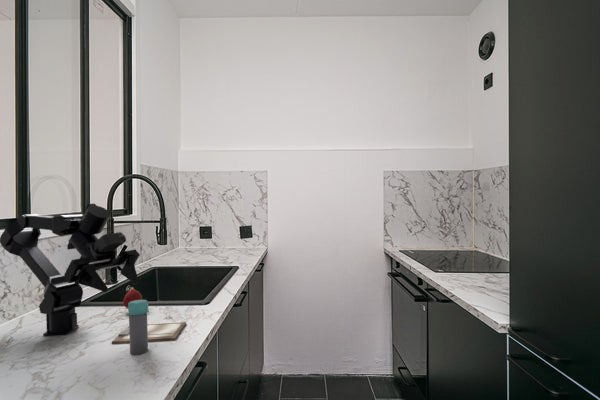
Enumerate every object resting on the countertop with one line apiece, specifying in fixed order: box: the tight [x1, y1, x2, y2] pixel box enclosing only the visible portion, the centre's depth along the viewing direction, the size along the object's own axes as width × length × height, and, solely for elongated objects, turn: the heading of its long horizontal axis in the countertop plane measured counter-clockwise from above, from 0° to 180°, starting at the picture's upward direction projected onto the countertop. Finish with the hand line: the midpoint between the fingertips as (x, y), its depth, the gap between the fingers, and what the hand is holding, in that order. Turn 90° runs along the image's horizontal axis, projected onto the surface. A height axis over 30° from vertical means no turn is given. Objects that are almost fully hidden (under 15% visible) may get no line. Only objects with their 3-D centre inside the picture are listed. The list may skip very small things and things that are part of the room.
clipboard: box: [111, 321, 187, 345], centre depth 98 cm, size 16×12×1 cm
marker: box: [127, 299, 149, 356], centre depth 86 cm, size 4×4×12 cm
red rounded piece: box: [122, 287, 143, 310], centre depth 119 cm, size 6×6×8 cm
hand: (122, 286), depth 92 cm, fingers open, 9 cm apart
